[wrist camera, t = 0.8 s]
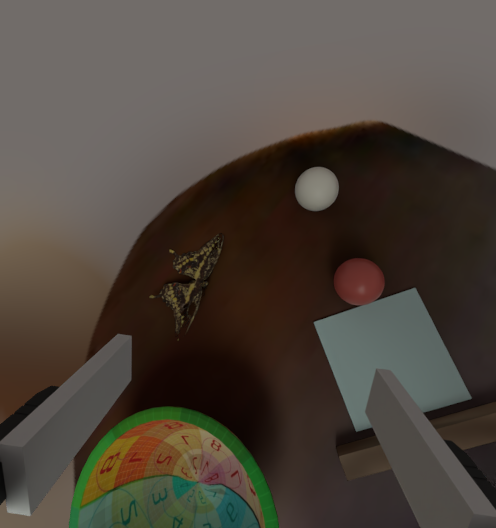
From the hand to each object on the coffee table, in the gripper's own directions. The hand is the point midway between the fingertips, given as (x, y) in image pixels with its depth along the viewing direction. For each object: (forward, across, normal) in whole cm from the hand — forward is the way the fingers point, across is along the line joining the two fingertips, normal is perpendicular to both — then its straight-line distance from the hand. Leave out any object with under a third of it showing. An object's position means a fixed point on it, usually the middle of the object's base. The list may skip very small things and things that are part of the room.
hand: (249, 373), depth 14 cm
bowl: (+15, +4, +27) cm, 32 cm away
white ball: (+27, -7, -11) cm, 30 cm away
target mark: (+19, -18, +9) cm, 27 cm away
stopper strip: (+15, -22, +16) cm, 31 cm away
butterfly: (+27, +9, +4) cm, 29 cm away
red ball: (+21, -13, 0) cm, 24 cm away
